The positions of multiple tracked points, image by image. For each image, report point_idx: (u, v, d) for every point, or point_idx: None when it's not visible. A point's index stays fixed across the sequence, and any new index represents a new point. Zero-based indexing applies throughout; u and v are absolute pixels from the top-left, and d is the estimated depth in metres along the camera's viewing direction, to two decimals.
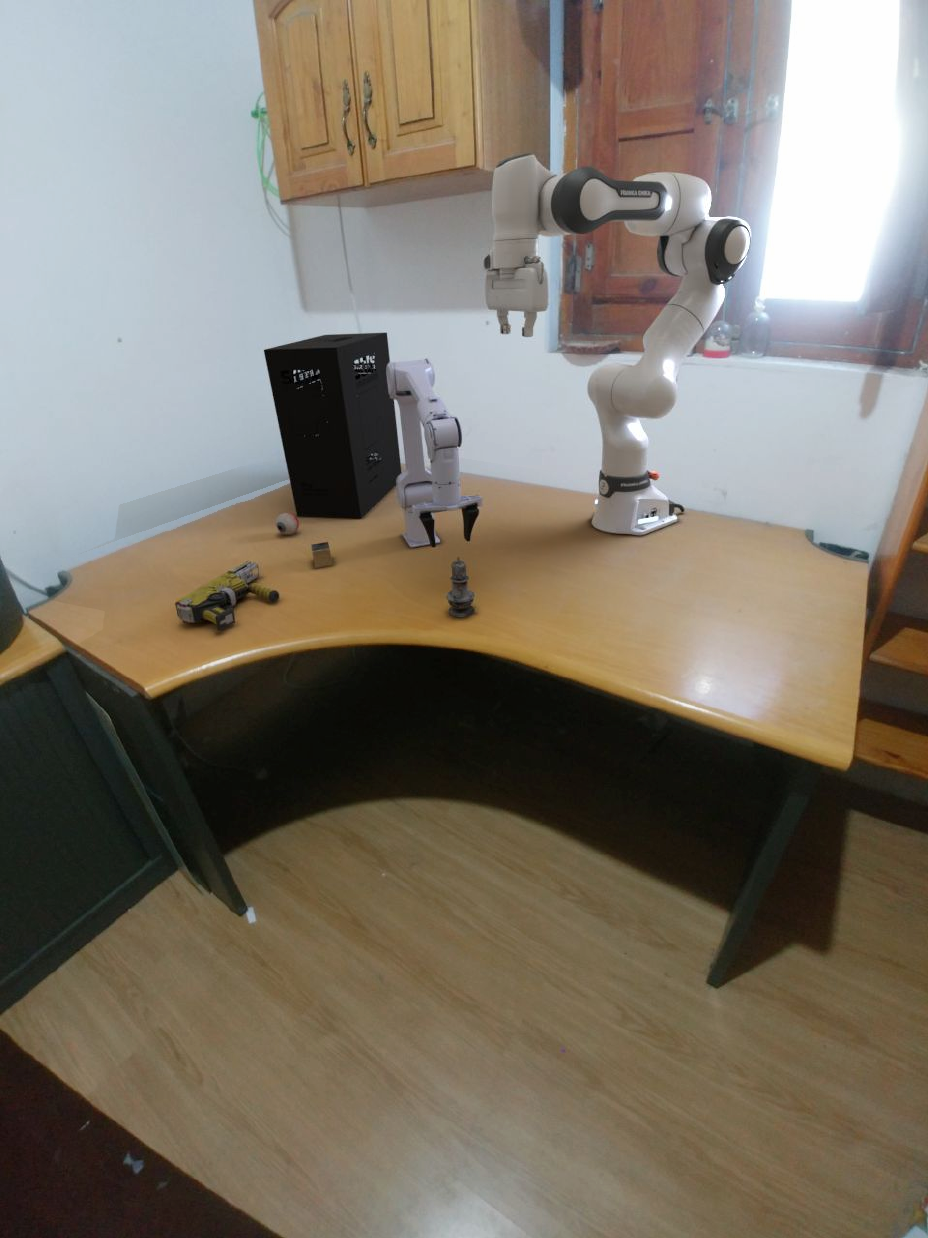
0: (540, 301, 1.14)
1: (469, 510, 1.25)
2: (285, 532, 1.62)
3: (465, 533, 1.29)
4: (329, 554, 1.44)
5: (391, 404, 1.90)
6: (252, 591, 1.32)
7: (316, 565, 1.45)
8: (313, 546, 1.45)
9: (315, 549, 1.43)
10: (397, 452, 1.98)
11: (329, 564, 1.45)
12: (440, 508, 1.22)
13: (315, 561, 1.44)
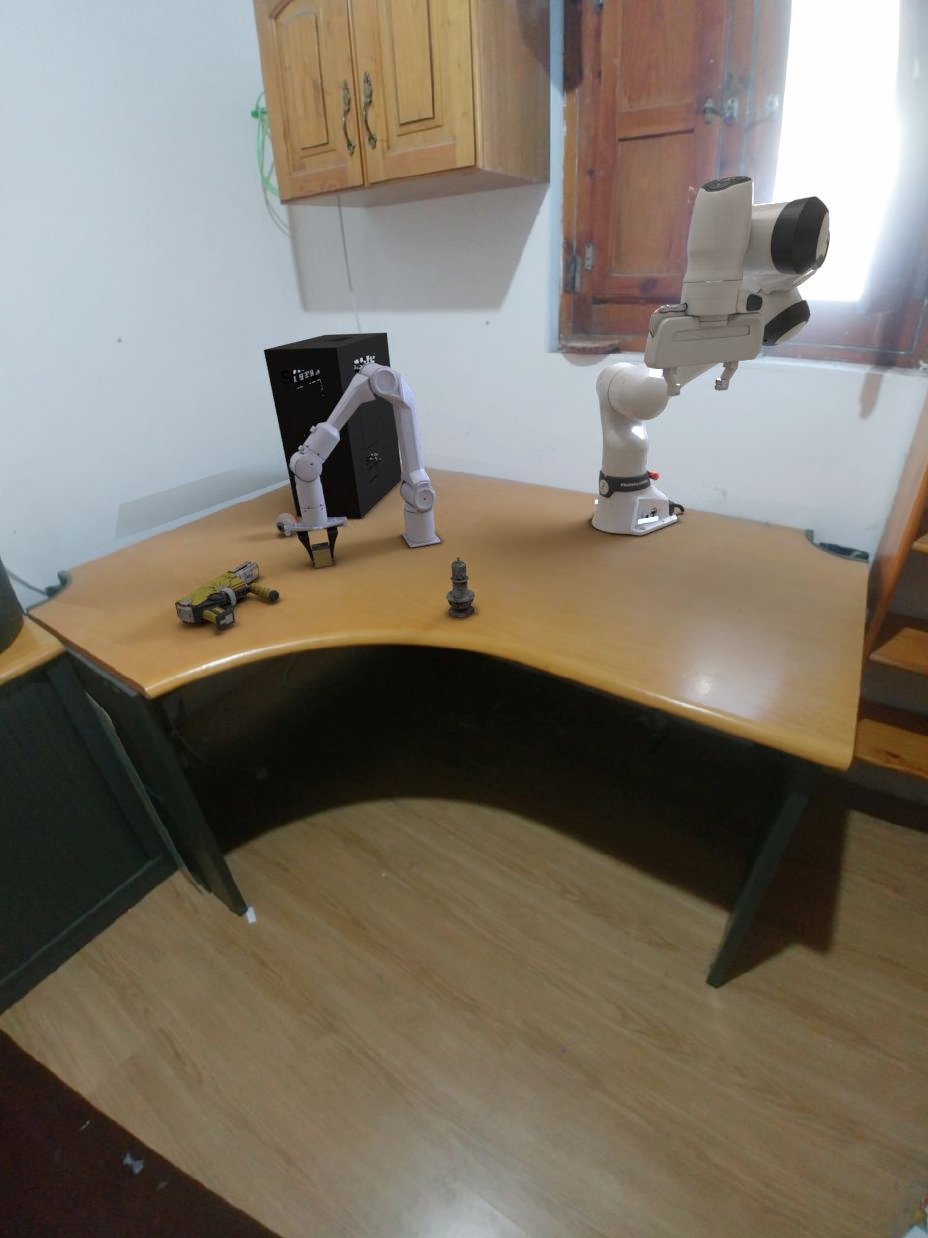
0: (647, 357, 0.98)
1: (329, 531, 1.42)
2: None
3: None
4: (329, 554, 1.44)
5: (391, 404, 1.90)
6: (252, 591, 1.32)
7: (316, 565, 1.45)
8: (313, 546, 1.45)
9: (315, 549, 1.43)
10: (397, 452, 1.98)
11: (329, 564, 1.45)
12: (307, 528, 1.40)
13: (315, 561, 1.44)
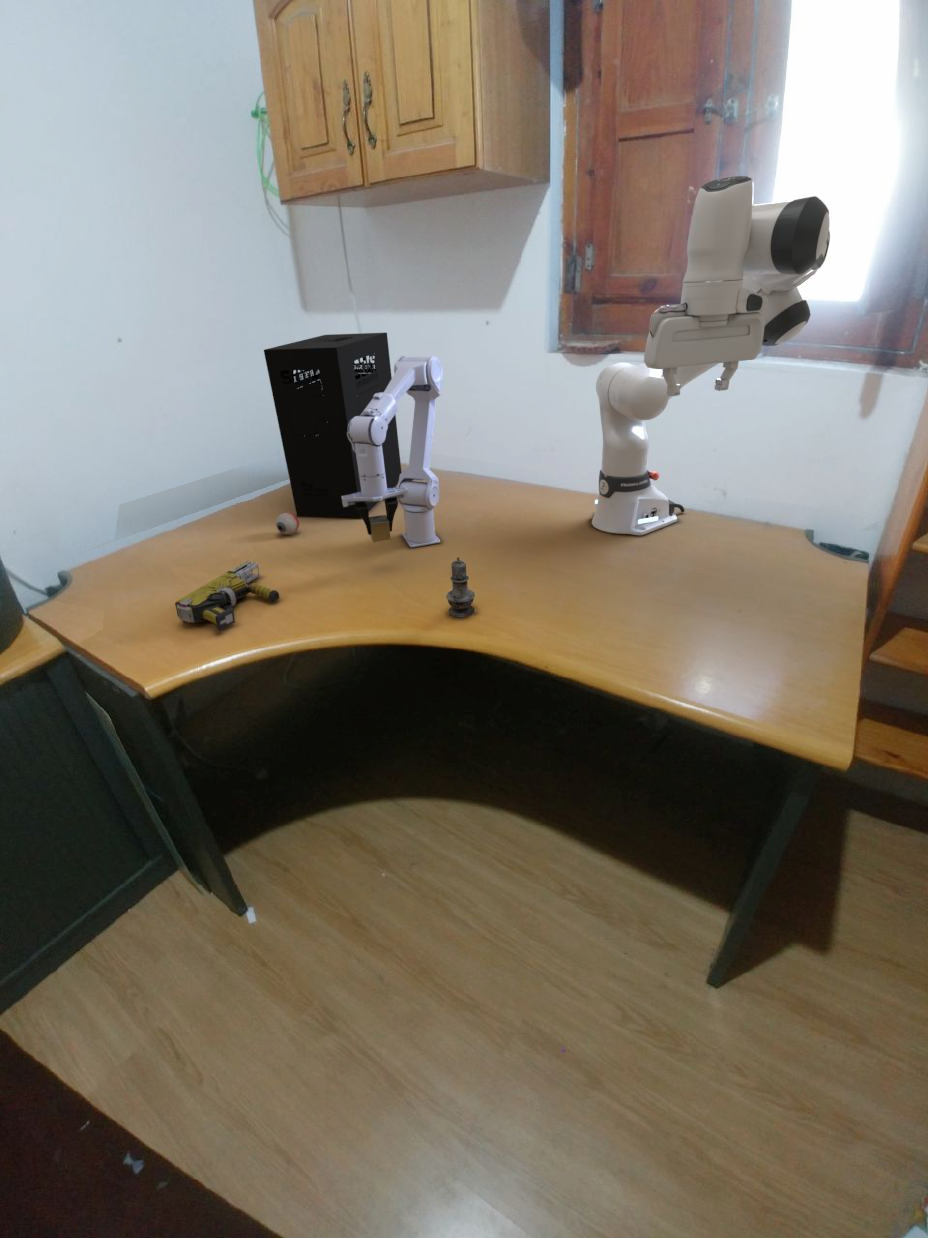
0: (647, 357, 0.98)
1: (388, 502, 1.34)
2: (285, 532, 1.62)
3: None
4: (388, 527, 1.36)
5: None
6: (252, 591, 1.32)
7: (374, 539, 1.36)
8: (370, 519, 1.37)
9: (374, 522, 1.35)
10: (397, 452, 1.98)
11: (388, 538, 1.37)
12: (366, 499, 1.31)
13: (373, 534, 1.36)
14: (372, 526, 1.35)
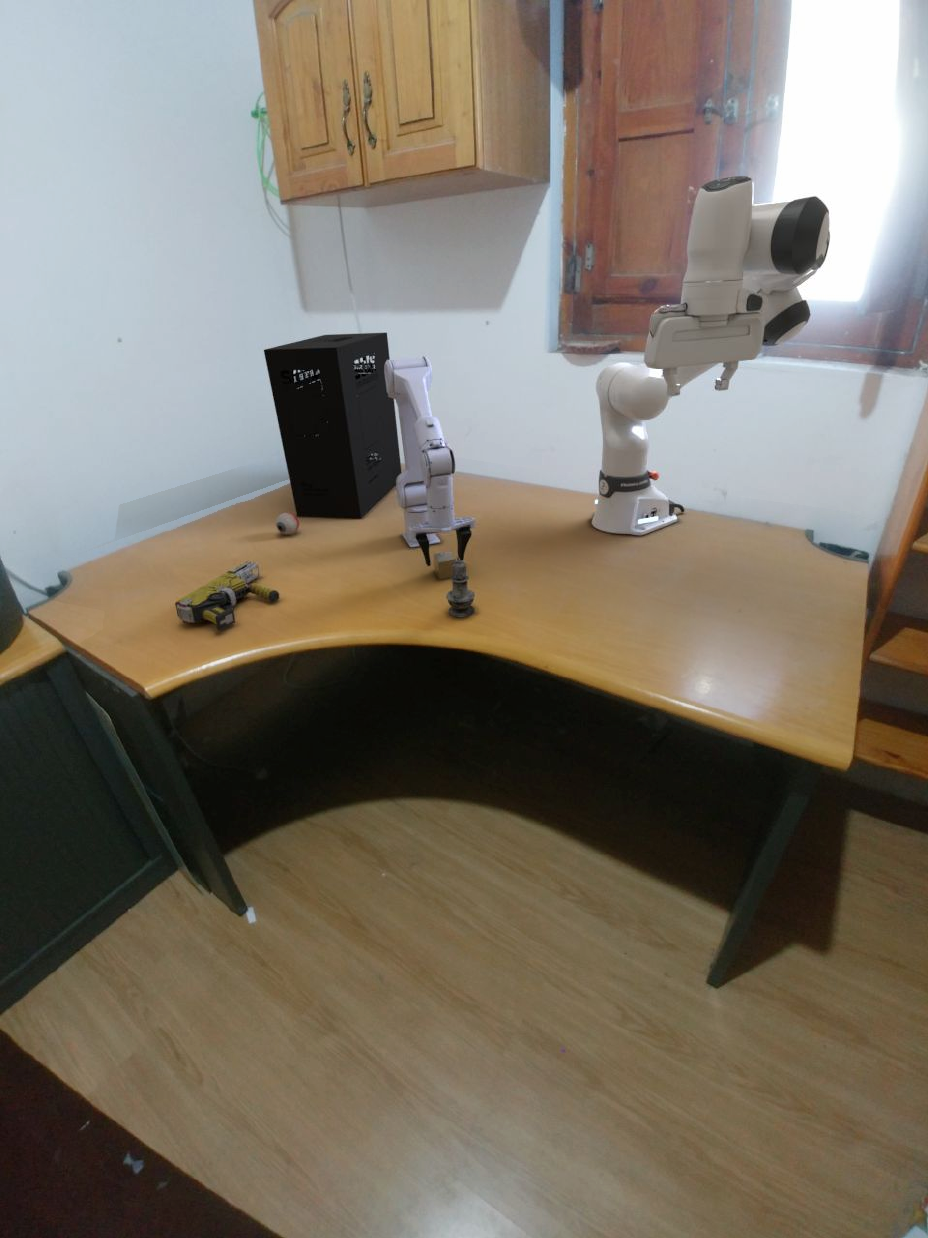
0: (647, 357, 0.98)
1: (462, 532, 1.33)
2: (285, 532, 1.62)
3: (459, 552, 1.37)
4: None
5: (391, 404, 1.90)
6: (252, 591, 1.32)
7: (440, 576, 1.36)
8: (436, 556, 1.36)
9: (441, 560, 1.35)
10: (397, 452, 1.98)
11: None
12: (434, 530, 1.30)
13: (440, 572, 1.35)
14: (439, 564, 1.34)
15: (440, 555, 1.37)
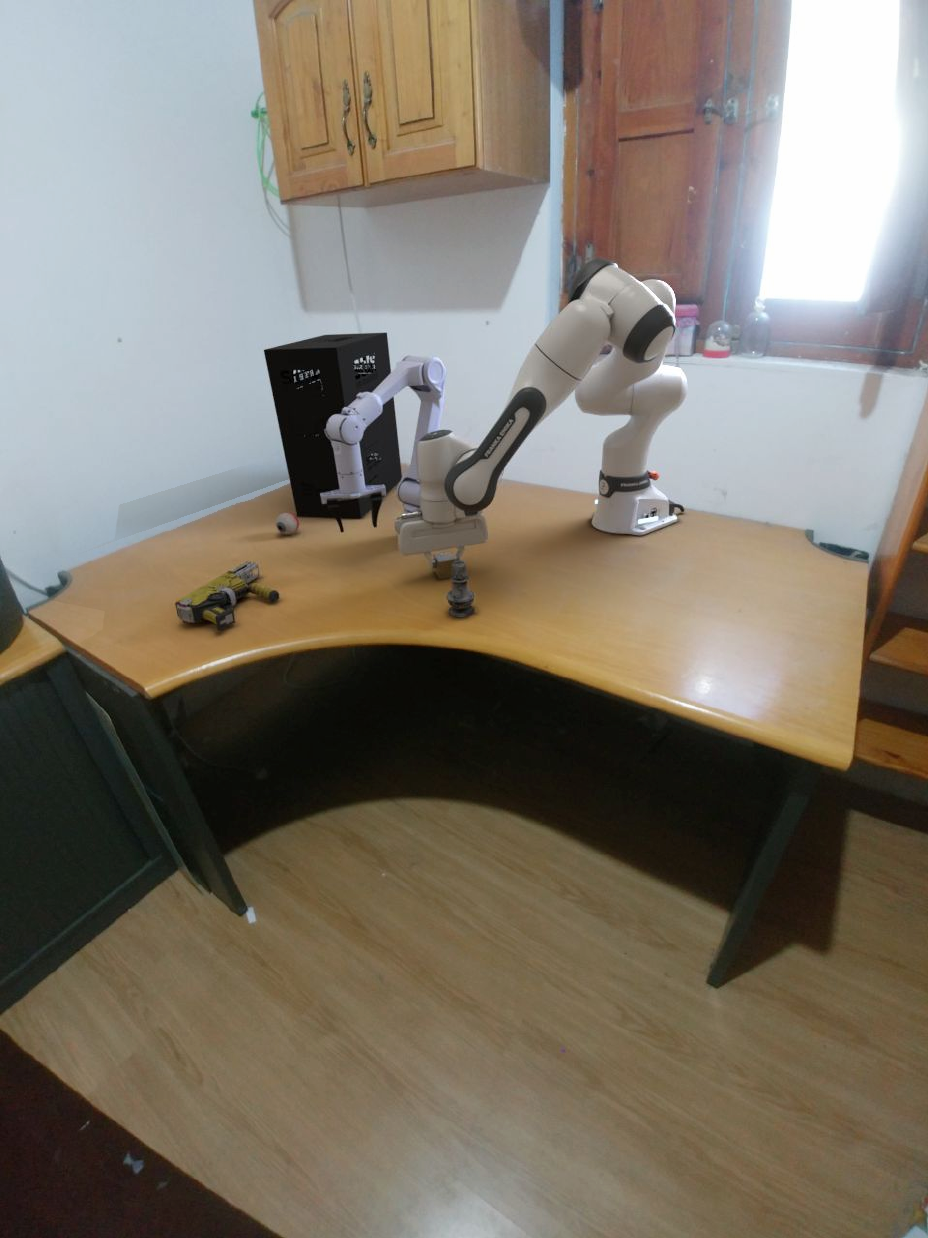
0: (398, 546, 1.32)
1: (373, 498, 1.36)
2: (285, 532, 1.62)
3: (372, 520, 1.41)
4: None
5: (391, 404, 1.90)
6: (252, 591, 1.32)
7: (440, 576, 1.36)
8: (436, 556, 1.36)
9: (441, 560, 1.35)
10: (397, 452, 1.98)
11: None
12: (344, 496, 1.34)
13: (440, 572, 1.35)
14: (439, 564, 1.34)
15: (440, 555, 1.37)
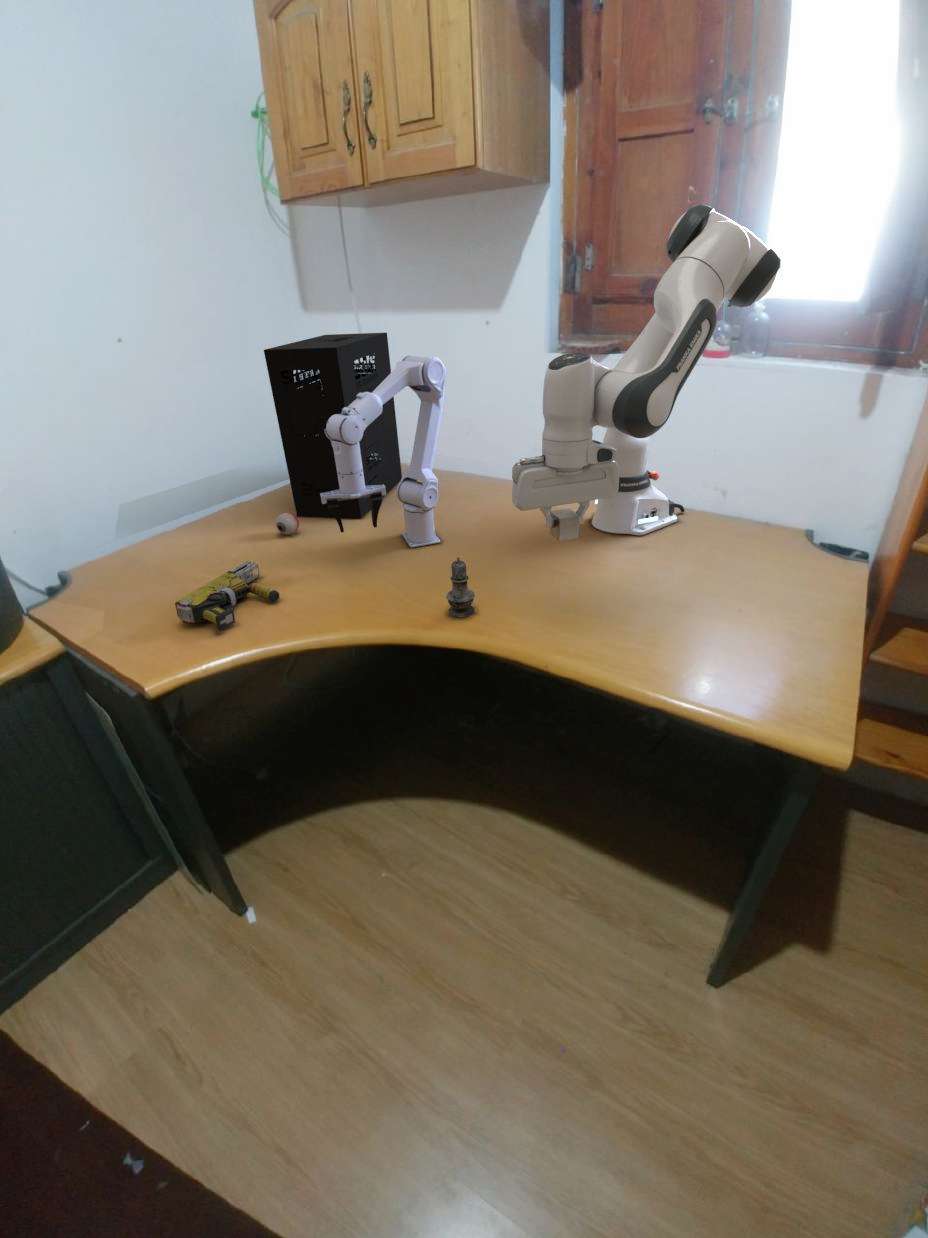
0: (513, 499, 1.10)
1: (373, 498, 1.36)
2: (285, 532, 1.62)
3: (372, 520, 1.41)
4: (578, 523, 1.13)
5: (391, 404, 1.90)
6: (252, 591, 1.32)
7: (560, 537, 1.13)
8: (555, 513, 1.14)
9: (562, 517, 1.12)
10: (397, 452, 1.98)
11: (575, 536, 1.14)
12: (344, 496, 1.34)
13: (560, 531, 1.13)
14: (561, 522, 1.12)
15: (559, 512, 1.15)
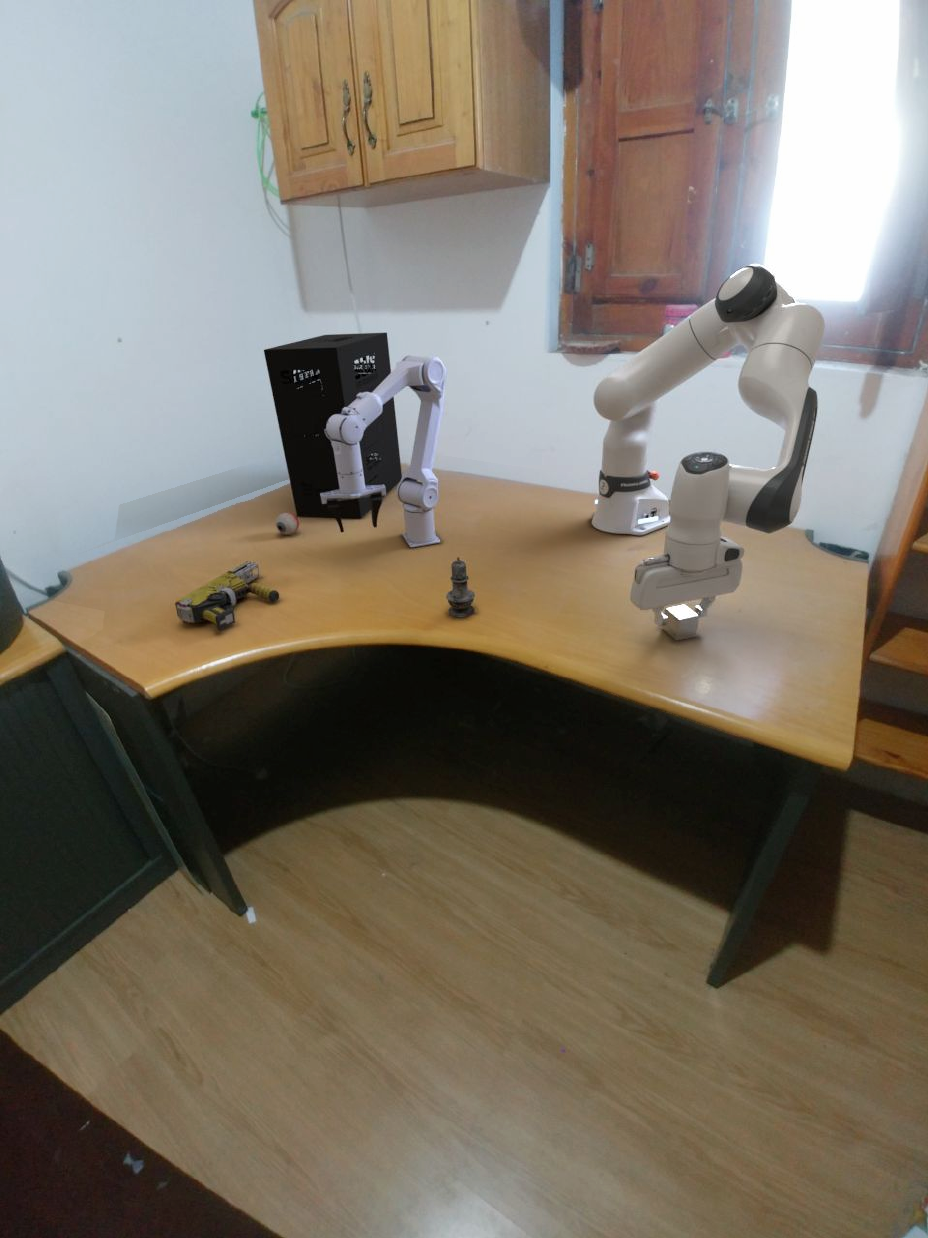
0: (633, 598, 1.05)
1: (373, 498, 1.36)
2: (285, 532, 1.62)
3: (372, 520, 1.41)
4: (697, 622, 1.09)
5: (391, 404, 1.90)
6: (252, 591, 1.32)
7: (678, 637, 1.09)
8: (672, 611, 1.10)
9: (681, 617, 1.08)
10: (397, 452, 1.98)
11: (693, 635, 1.10)
12: (344, 496, 1.34)
13: (679, 631, 1.09)
14: (680, 622, 1.08)
15: (675, 610, 1.10)
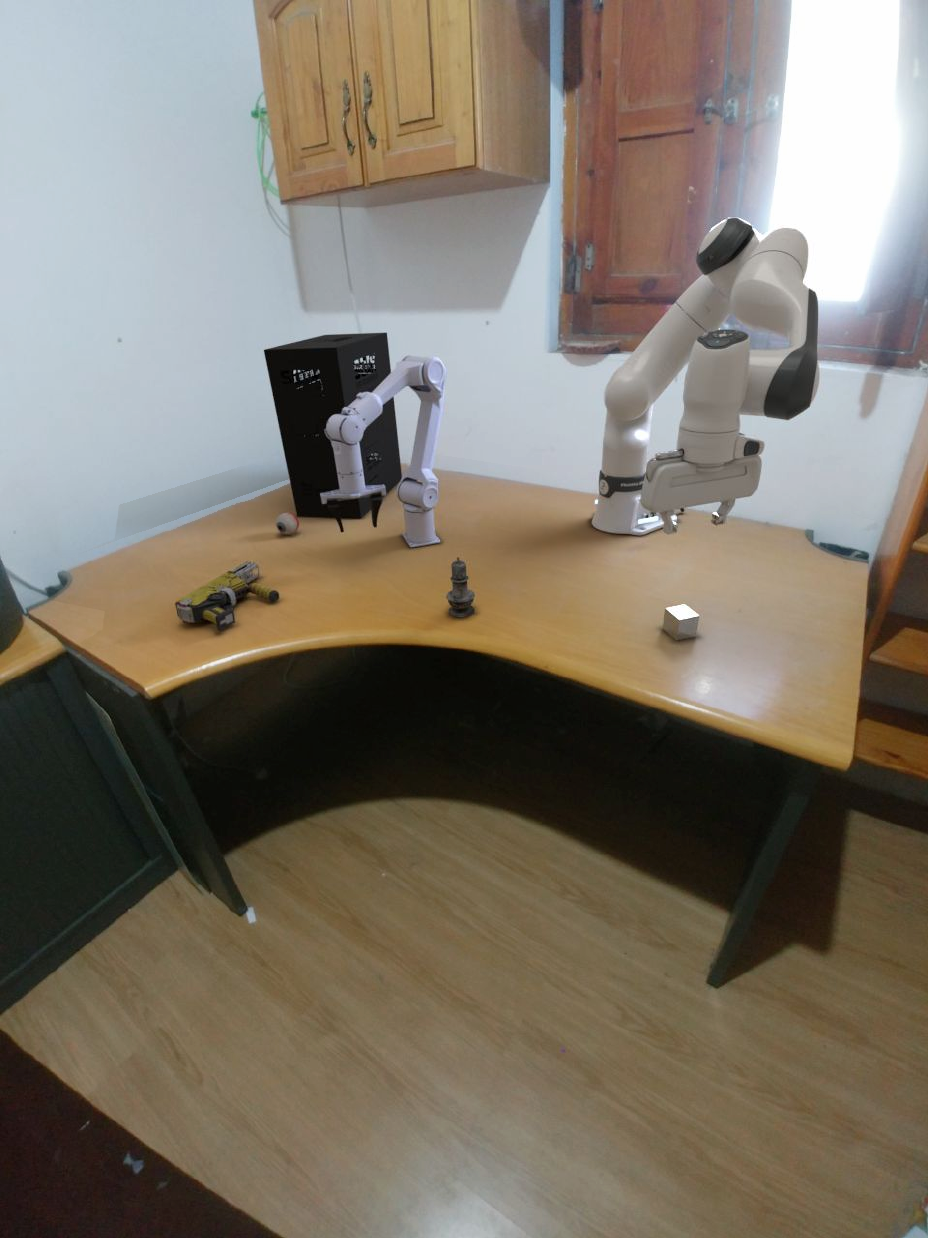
0: (644, 500, 0.96)
1: (373, 498, 1.36)
2: (285, 532, 1.62)
3: (372, 520, 1.41)
4: (697, 622, 1.09)
5: (391, 404, 1.90)
6: (252, 591, 1.32)
7: (678, 637, 1.09)
8: (672, 611, 1.10)
9: (681, 617, 1.08)
10: (397, 452, 1.98)
11: (693, 635, 1.10)
12: (344, 496, 1.34)
13: (679, 631, 1.09)
14: (680, 622, 1.08)
15: (675, 610, 1.10)
